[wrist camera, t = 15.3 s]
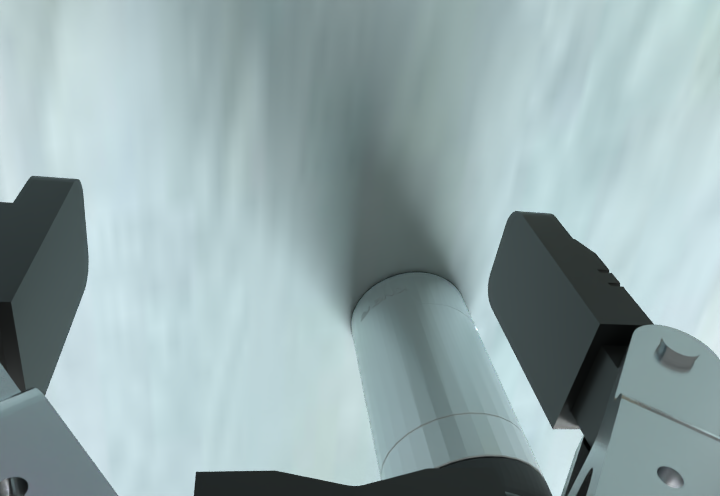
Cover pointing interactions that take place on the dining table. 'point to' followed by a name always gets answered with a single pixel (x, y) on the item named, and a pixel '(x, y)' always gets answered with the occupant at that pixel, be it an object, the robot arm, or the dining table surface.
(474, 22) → the dining table surface
